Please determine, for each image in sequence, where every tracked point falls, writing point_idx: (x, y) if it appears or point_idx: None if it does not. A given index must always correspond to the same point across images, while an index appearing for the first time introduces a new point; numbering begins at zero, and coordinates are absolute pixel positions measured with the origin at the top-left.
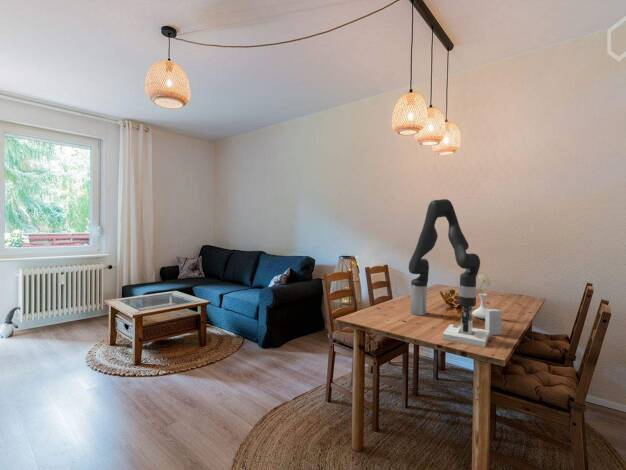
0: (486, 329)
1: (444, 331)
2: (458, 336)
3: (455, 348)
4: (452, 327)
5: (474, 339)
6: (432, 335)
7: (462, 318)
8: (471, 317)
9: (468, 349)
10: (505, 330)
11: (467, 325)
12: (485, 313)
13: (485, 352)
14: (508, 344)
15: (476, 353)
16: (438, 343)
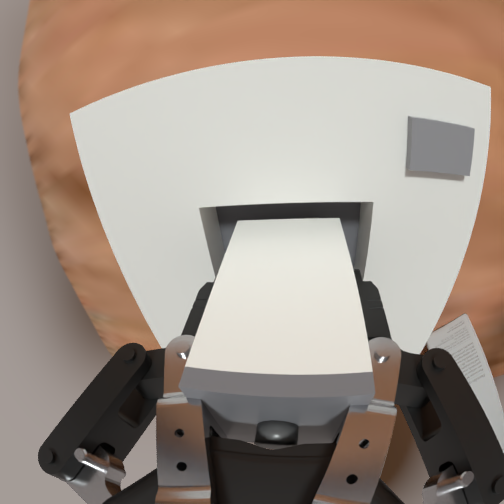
0: (459, 338)
1: (135, 87)
2: (110, 242)
3: (49, 232)
4: (381, 113)
5: (152, 328)
6: (130, 4)
7: (81, 401)
8: (329, 441)
9: (89, 282)
10: (494, 355)
11: None
12: (501, 420)
13: (125, 335)
14: None
15: (85, 309)
16: (32, 135)
